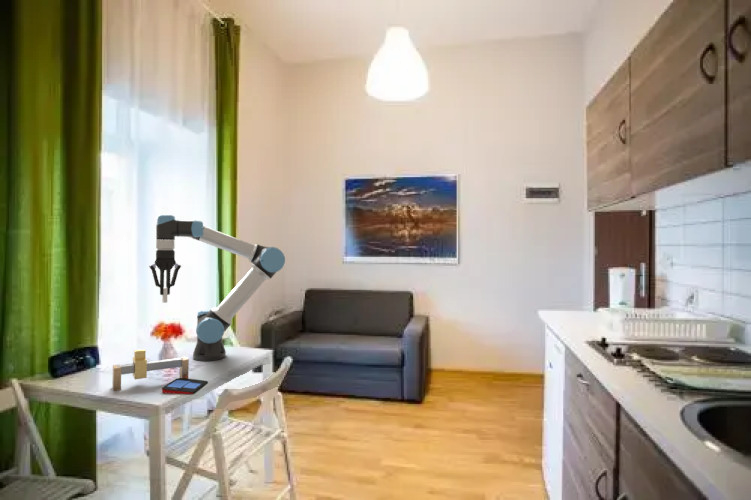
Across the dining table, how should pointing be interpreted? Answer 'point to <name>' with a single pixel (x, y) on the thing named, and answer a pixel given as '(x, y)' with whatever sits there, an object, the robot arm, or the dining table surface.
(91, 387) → the dining table surface
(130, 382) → the dining table surface
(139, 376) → the beige wooden block
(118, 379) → the grey rail on posts
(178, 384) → the game console
